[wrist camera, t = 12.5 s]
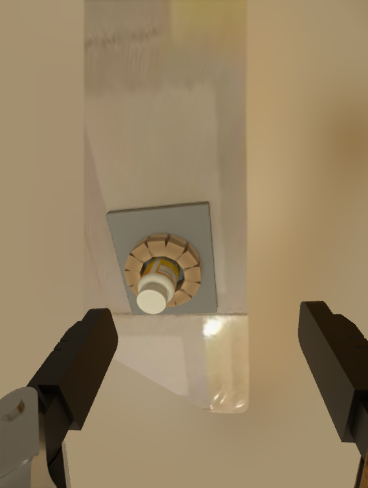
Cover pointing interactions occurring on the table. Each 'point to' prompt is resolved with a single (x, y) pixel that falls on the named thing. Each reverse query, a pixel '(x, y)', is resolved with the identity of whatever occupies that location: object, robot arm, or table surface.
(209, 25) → the table surface
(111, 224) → the gray rectangular board
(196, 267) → the segmented wooden ring
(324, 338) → the robot arm
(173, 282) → the supplement bottle
